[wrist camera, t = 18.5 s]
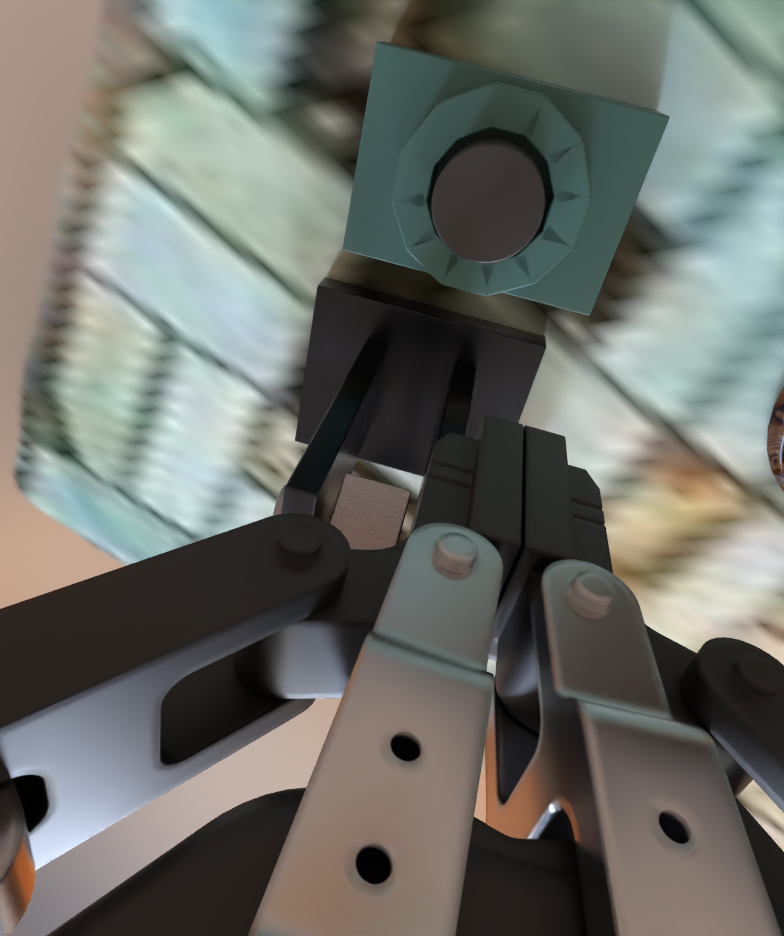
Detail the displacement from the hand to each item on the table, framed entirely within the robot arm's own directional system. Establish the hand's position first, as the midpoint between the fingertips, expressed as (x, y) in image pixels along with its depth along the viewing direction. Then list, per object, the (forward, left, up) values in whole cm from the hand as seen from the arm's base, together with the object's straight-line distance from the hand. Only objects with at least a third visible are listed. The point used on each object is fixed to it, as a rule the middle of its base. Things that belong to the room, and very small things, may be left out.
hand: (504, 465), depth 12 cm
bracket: (+3, +7, -17) cm, 19 cm away
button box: (+2, -2, -17) cm, 17 cm away
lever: (+3, +10, -10) cm, 15 cm away
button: (+2, -2, -13) cm, 14 cm away
